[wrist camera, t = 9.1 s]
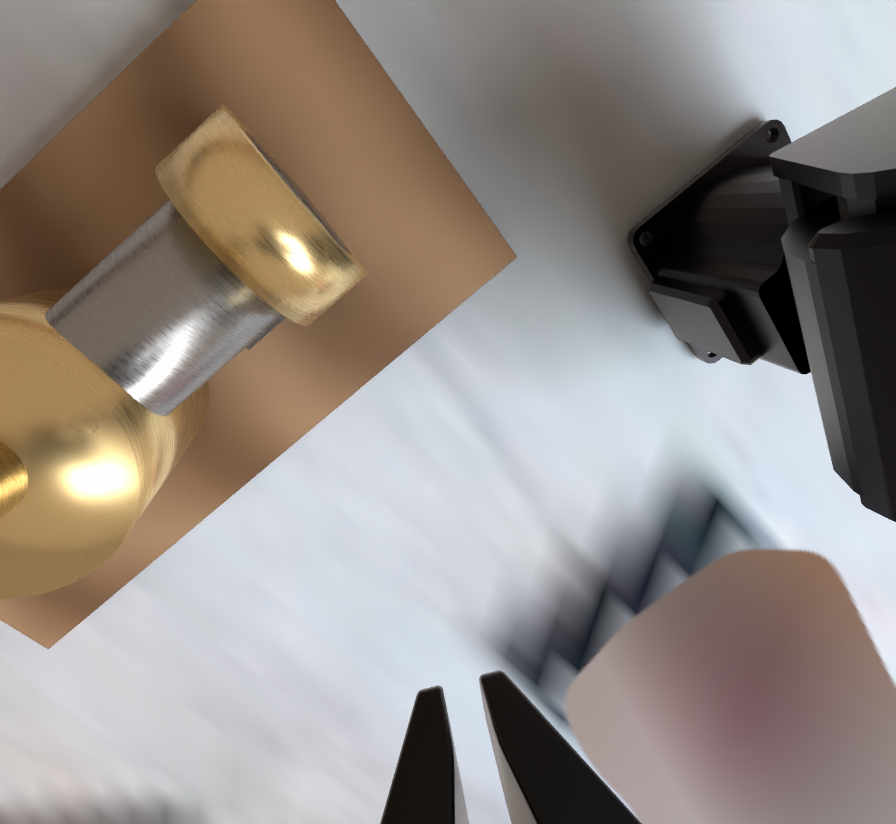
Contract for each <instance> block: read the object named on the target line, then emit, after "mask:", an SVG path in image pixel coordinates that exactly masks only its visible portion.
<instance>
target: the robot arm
mask: <svg viewBox="0 0 896 824" xmlns="http://www.w3.org/2000/svg"><path fill="white" fill-rule="evenodd" d="M768 130H769V131H770V132H771V138H770V141H769V142H767V141H766V133H767V131H768ZM643 232H645V233H646V234H647V240H646V242H645V243H644V244H643V245H641V244H640V241H639V238H640V235H641V234H642V233H643ZM628 244H629V247H630V249H631V250H632V252H633V253H634V255H635V257H636V258H637V260H638V262H639V263H640V265H641V267H642V268H643V270H644V271H645V273H646V275H647V276H648V278H649V280H650V281H651V282H650V283H649V293H650V295H651V297H652V298H653V300H654V301H655V303H656V305H657V306H658V308H659V309H660V311H661V313H662V314H663V316H664V318H665V319H666V321H667V322H668V324H669V326H670V327H671V329H672V330H673V332H674V334H675V335H676V337H677V338H678V339H679V340H682V341H684V342H687V343H689V345H690V346H691V348H692V350H693V351H694V353H695V355H696V356H697V357H698V358H699V359H700V360H702V361H704V362H706V363H715V362H717V361H718V360H720V359H721V358H722V357H724V358H727V359H729V360H732V361H734V362H737V363H739V364H747V365H751V364H753V363H754V362H755V361H757V360H758V359H762V360H765V361H768V362H770V363H773V364H776V365H778V366H781V367H784V368H787V369H789V370H792V371H795V372H798V373H800V374H808V373H810V372H811V374H812V378H813V382H814V387H815V391H816V396H817V400H818V404H819V409H820V413H821V418H822V422H823V427H824V431H825V435H826V440H827V444H828V449H829V453H830V457H831V461H832V465H833V469H834V471H835V472H836V473H837V474H838V475H839V476H840V477H841V478H842V479H843V480H844V481H845V482H846V483H847V484H848V486H849V487H850V488H851V489H852V490H853V491H854V492H856V493H857V494H859V495H860V499H861V503H862V504H863V505H864V506H865V507H866V508H868V509H870V510H872V511H874V512H876V513H878V514H880V515H882V516H884V517H886V518H888V519H890V520H892V521H895V522H896V87H895V88H893V89H892V90H890V91H888V92H886V93H884V94H882V95H880V96H878V97H877V98H875V99H873V100H871V101H869V102H867V103H865V104H863V105H862V106H860V107H858V108H856V109H854V110H852V111H850V112H848V113H847V114H845V115H843V116H841V117H839V118H837V119H835V120H833V121H832V122H830V123H828V124H826V125H824V126H822V127H820V128H818V129H816V130H815V131H813V132H811V133H809V134H807V135H805V136H803V137H801V138H800V139H798V140H796V141H794V142H791V140H790V138H789V136H788V133H787V131H786V129H785V126H784V125H783V123H782V122H781V121H779V120H769V121H765V122H762V123H760V124H759V125H757V126H756V127H755V128H754V129H753V130H751V131H750V132H749V133H748V134H747V135H745V136H744V137H743V138H742V139H740V140H739V141H738V142H737V143H736V144H734V145H733V146H732V147H731V148H729V149H728V150H727V151H726V152H725V153H723V154H722V155H721V156H720V157H719V158H717V159H716V160H715V161H714V162H712V163H711V164H710V165H709V166H708V167H706V168H705V169H704V170H703V171H701V172H700V173H699V174H698V175H697V176H695V177H694V178H693V179H692V180H691V181H689V182H688V183H687V184H686V185H684V186H683V187H682V188H681V189H680V190H678V191H677V192H676V193H675V194H673V195H672V196H671V197H670V198H669V199H667V200H666V201H665V202H664V203H663V204H661V205H660V206H659V207H658V208H656V209H655V210H654V211H653V212H652V213H650V214H649V215H648V216H647V217H646V218H644V219H643V220H642V221H641V222H639V223H638V224H637V225H636V226H635V227H633V229H632V230H631V231H630V233H629V236H628ZM707 351H709V352H711V353H710V354H708V355H707ZM479 682H480V688H481V694H482V700H483V706H484V711H485V716H486V721H487V725H488V729H489V734H490V738H491V742H492V746H493V750H494V754H495V759H496V763H497V767H498V771H499V775H500V779H501V783H502V788H503V792H504V796H505V800H506V804H507V808H508V812H509V815H510V819H511V822H512V824H642V823H641V822H640V821H639V820H638V819H637V818H636V817H635V816H634V815H633V814H632V812H631V811H630V810H629V809H628V808H627V807H626V806H625V805H624V804H623V803H622V801H621V800H620V799H619V798H618V797H617V796H616V795H615V794H614V793H613V792H612V791H611V789H610V788H609V787H608V786H607V785H606V784H605V783H604V782H603V781H602V780H601V778H600V777H599V776H598V775H597V774H596V773H595V772H594V771H593V770H592V769H591V767H590V766H589V765H588V764H587V763H586V762H585V761H584V760H583V759H582V758H581V756H580V755H579V754H578V753H577V752H576V751H575V750H574V749H573V748H572V747H571V745H570V744H569V743H568V742H567V741H566V740H565V739H564V738H563V737H562V736H561V734H560V733H559V732H558V731H557V730H556V729H555V728H554V727H553V726H552V725H551V723H550V722H549V721H548V720H547V719H546V718H545V717H544V716H543V715H542V714H541V712H540V711H539V710H538V709H537V708H536V707H535V706H534V705H533V704H532V703H531V701H530V700H529V699H528V698H527V697H526V696H525V695H524V694H523V693H522V692H521V690H520V689H519V688H518V687H517V686H516V685H515V684H514V683H513V682H512V681H511V679H510V678H509V677H508V676H507V675H506V674H505V673H504V672H502V671H495V672H491V673H487V674H483V675H481V676H480V678H479ZM380 824H469V821H468V815H467V810H466V805H465V799H464V794H463V789H462V784H461V779H460V773H459V768H458V763H457V758H456V753H455V747H454V742H453V737H452V732H451V727H450V722H449V717H448V712H447V707H446V702H445V698H444V693H443V689H442V687H441V686H435V687H431V688H427V689H423V690H420V691H419V692H418V694H417V696H416V700H415V703H414V707H413V710H412V714H411V717H410V721H409V724H408V728H407V731H406V735H405V739H404V742H403V746H402V749H401V753H400V756H399V760H398V763H397V767H396V770H395V774H394V777H393V781H392V784H391V788H390V791H389V795H388V799H387V802H386V806H385V809H384V813H383V816H382V820H381V823H380Z"/></svg>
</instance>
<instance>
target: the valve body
mask: <svg viewBox="0 0 896 824" xmlns="http://www.w3.org/2000/svg"><path fill="white" fill-rule="evenodd" d="M155 173H156V176H157V179H158V181H159V183H160V185H161V187H162V189H163V190H164V192H165V193H166V195H167V196H168V198H169V199H168V200H167V201H166V202H164V203H163V204H162V205H161V206H160V207H159V208H158V209H157V210H156V211H155V212H154V213H153V214H151V215H150V216H149V217H148V218H147V219H146V220H145V221H144V222H143V223H142V224H141V225H140V226H139V227H137V228H136V229H135V230H134V231H133V232H132V233H131V234H130V235H129V236H128V237H127V238H126V239H124V240H123V241H122V242H121V243H120V244H119V245H118V246H117V247H116V248H115V249H114V250H113V251H111V252H110V253H109V254H108V255H107V256H106V257H105V258H104V259H103V260H102V261H101V262H100V263H99V264H97V265H96V266H95V267H94V268H93V269H92V270H91V271H90V272H89V273H88V274H87V275H86V276H84V277H83V278H82V279H81V280H80V281H79V282H78V283H77V284H70V285H62V286H58V287H54V288H49V289H46V290H42V291H38V292H34V293H30V294H26V295H22V296H18V297H14V298H11V299H7V300H3V301H0V599H12V598H22V597H29V596H35V595H40V594H43V593H47V592H51V591H54V590H57V589H60V588H62V587H65V586H67V585H70V584H72V583H74V582H76V581H78V580H80V579H82V578H83V577H85V576H87V575H89V574H90V573H92V572H93V571H94V570H96V569H97V568H98V567H100V566H101V565H102V564H103V563H104V562H105V561H106V560H107V559H108V558H109V557H110V556H111V555H112V554H114V552H115V551H116V550H117V548H118V547H119V546H120V544H121V543H122V542H123V540H124V539H125V537H126V536H127V535H128V533H129V532H130V530H131V529H132V527H133V526H134V524H135V523H136V522H137V520H138V519H139V517H140V516H141V514H142V513H143V512H144V510H145V509H146V507H147V506H148V504H149V503H150V502H151V500H152V499H153V497H154V496H155V494H156V493H157V492H158V490H159V489H160V487H161V486H162V484H163V483H164V482H165V480H166V479H167V477H168V476H169V474H170V473H171V472H172V470H173V469H174V467H175V466H176V464H177V463H178V461H179V460H180V459H181V457H182V456H183V454H184V453H185V451H186V450H187V449H188V447H189V446H190V444H191V443H192V441H193V440H194V439H195V437H196V436H197V434H198V432H199V431H200V429H201V427H202V425H203V423H204V420H205V417H206V414H207V409H208V404H209V382H208V380H209V379H210V378H211V377H213V376H214V375H215V374H216V373H217V372H218V371H220V370H221V369H222V368H223V367H224V366H225V365H226V364H228V363H229V362H230V361H231V360H232V359H233V358H234V357H236V356H237V355H238V354H239V353H240V352H241V351H243V350H244V349H245V348H247V349H248V350H249V349H251V348H252V347H253V346H254V345H255V344H256V343H257V342H259V341H260V340H261V339H262V338H263V337H264V336H266V335H267V334H268V333H269V332H270V331H271V330H272V329H274V328H275V327H276V326H277V325H278V324H279V323H280V322H282V321H283V320H284V319H285V318H288V319H290V320H291V321H293V322H295V323H297V324H299V325H302V326H308V325H310V324H311V323H312V322H313V321H314V320H315V319H317V318H318V317H319V316H320V315H321V314H322V313H324V312H325V311H326V310H327V309H328V308H329V307H331V306H332V305H333V304H334V303H335V302H336V301H337V300H339V299H340V298H341V297H342V296H343V295H344V294H346V293H347V292H348V291H349V290H350V289H351V288H353V287H354V286H355V285H356V284H357V283H358V282H359V281H361V280H362V279H363V278H364V277H365V276H366V275H367V271H366V270H365V268H364V267H363V265H362V264H361V262H360V261H359V260H358V258H357V257H356V255H355V254H354V253H353V252H352V250H351V249H350V248H349V246H348V245H347V244H346V242H345V241H344V240H343V239H342V237H341V236H340V235H339V234H338V232H337V231H336V230H335V229H334V227H333V226H332V225H331V224H330V223H329V221H328V220H327V219H326V218H325V216H324V215H323V214H322V213H321V212H320V210H319V209H318V208H317V207H316V206H315V204H314V203H313V202H312V201H311V200H310V198H309V197H308V196H307V195H306V194H305V192H304V191H303V190H302V189H301V188H300V187H299V185H298V184H297V183H296V182H295V181H294V180H293V178H292V177H291V176H290V175H289V174H288V173H287V171H286V170H285V169H284V168H283V167H282V166H281V165H280V163H279V162H278V161H277V160H276V159H275V158H274V157H273V155H272V154H271V153H270V152H269V151H268V150H267V149H266V148H265V146H264V145H263V144H262V143H261V142H260V141H259V140H258V139H257V138H256V137H255V135H254V134H253V133H252V132H251V131H250V130H249V129H248V128H247V127H246V126H245V125H244V124H243V123H242V122H241V121H240V119H239V118H238V117H237V116H236V115H235V114H234V113H233V112H232V111H230V110H229V109H228V108H227V107H226V106H225V105H223V104H222V105H221V106H220V107H219V108H218V109H217V110H216V111H215V112H214V113H213V114H212V115H210V116H209V117H208V118H207V119H206V120H205V121H204V122H203V123H202V124H201V125H200V126H199V127H198V128H197V129H196V130H194V131H193V132H192V133H191V134H190V135H189V136H188V137H187V138H186V139H185V140H184V141H183V142H182V143H181V144H179V145H178V146H177V147H176V148H175V149H174V150H173V151H172V152H171V153H170V154H169V155H168V156H167V157H166V158H165V159H163V160H162V161H161V162H160V163H159V164H158V165H157V166H156V168H155Z"/></svg>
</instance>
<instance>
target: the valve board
mask: <svg viewBox="0 0 896 824" xmlns="http://www.w3.org/2000/svg"><path fill="white" fill-rule="evenodd" d="M222 104H223V105H225V106H226V107H227V108H228V109H229V110H230V111H232V112H233V113H234V114H235V115H236V116H237V117H238V118H239V119H240V121H241V122H242V123H243V124H244V125H245V126H246V127H247V128H248V129H249V130H250V131H251V132H252V133H253V134H254V135H255V137H256V138H257V139H258V140H259V141H260V142H261V143H262V144H263V145H264V146H265V148H266V149H267V150H268V151H269V152H270V153H271V154H272V155H273V157H274V158H275V159H276V160H277V161H278V162H279V163H280V165H281V166H282V167H283V168H284V169H285V170H286V171H287V173H288V174H289V175H290V176H291V177H292V178H293V180H294V181H295V182H296V183H297V184H298V185H299V187H300V188H301V189H302V190H303V191H304V192H305V194H306V195H307V196H308V197H309V198H310V200H311V201H312V202H313V203H314V204H315V206H316V207H317V208H318V209H319V210H320V212H321V213H322V214H323V215H324V216H325V218H326V219H327V220H328V221H329V223H330V224H331V225H332V226H333V227H334V229H335V230H336V231H337V232H338V234H339V235H340V236H341V237H342V239H343V240H344V241H345V242H346V244H347V245H348V246H349V248H350V249H351V250H352V252H353V253H354V254H355V255H356V257H357V258H358V260H359V261H360V262H361V264H362V265H363V267H364V268H365V270H366V271H367V275H366V276H365V277H364V278H363V279H362V280H361V281H359V282H358V283H357V284H356V285H355V286H354V287H353V288H351V289H350V290H349V291H348V292H347V293H346V294H344V295H343V296H342V297H341V298H340V299H339V300H337V301H336V302H335V303H334V304H333V305H332V306H331V307H329V308H328V309H327V310H326V311H325V312H324V313H322V314H321V315H320V316H319V317H318V318H317V319H315V320H314V321H313V322H312V323H311V324H310V325H308V326H302V325H299V324H297V323H295V322H293V321H291V320H290V319H288V318H285V319H284V320H283V321H282V322H280V323H279V324H278V325H277V326H276V327H275V328H274V329H272V330H271V331H270V332H269V333H268V334H267V335H266V336H264V337H263V338H262V339H261V340H260V341H259V342H257V343H256V344H255V345H254V346H253V347H252V348H251V349H249V350H248V349H247V348H245V349H244V350H243V351H241V352H240V353H239V354H238V355H237V356H236V357H234V358H233V359H232V360H231V361H230V362H229V363H228V364H226V365H225V366H224V367H223V368H222V369H221V370H220V371H218V372H217V373H216V374H215V375H214V376H213V377H211V378H210V379H209V380H208V382H209V404H208V409H207V414H206V417H205V420H204V423H203V425H202V427H201V429H200V431H199V432H198V434H197V436H196V437H195V439H194V440H193V441H192V443H191V444H190V446H189V447H188V449H187V450H186V451H185V453H184V454H183V456H182V457H181V459H180V460H179V461H178V463H177V464H176V466H175V467H174V469H173V470H172V472H171V473H170V474H169V476H168V477H167V479H166V480H165V482H164V483H163V484H162V486H161V487H160V489H159V490H158V492H157V493H156V494H155V496H154V497H153V499H152V500H151V502H150V503H149V504H148V506H147V507H146V509H145V510H144V512H143V513H142V514H141V516H140V517H139V519H138V520H137V522H136V523H135V524H134V526H133V527H132V529H131V530H130V532H129V533H128V535H127V536H126V537H125V539H124V540H123V542H122V543H121V544H120V546H119V547H118V548H117V550H116V551H115V552H114V554H112V555H111V556H110V557H109V558H108V559H107V560H106V561H105V562H104V563H103V564H102V565H101V566H100V567H98V568H97V569H96V570H94V571H93V572H92V573H90V574H89V575H87V576H85V577H83V578H82V579H80V580H78V581H76V582H74V583H72V584H70V585H67V586H65V587H62V588H60V589H57V590H54V591H51V592H47V593H43V594H40V595H35V596H29V597H22V598H12V599H0V620H1V621H3V622H5V623H6V624H8V625H9V626H11V627H13V628H14V629H16V630H18V631H19V632H21V633H22V634H24V635H26V636H27V637H29V638H31V639H32V640H34V641H35V642H37V643H39V644H40V645H42V646H44V647H45V648H47V649H49V648H51V647H52V646H53V645H54V644H55V643H56V642H58V641H59V640H60V639H61V638H62V637H64V636H65V635H66V634H67V633H68V632H70V631H71V630H72V629H73V628H74V627H76V626H77V625H78V624H79V623H80V622H82V621H83V620H84V619H85V618H86V617H88V616H89V615H90V614H91V613H92V612H94V611H95V610H96V609H97V608H98V607H99V606H101V605H102V604H103V603H104V602H105V601H107V600H108V599H109V598H110V597H111V596H113V595H114V594H115V593H116V592H117V591H119V590H120V589H121V588H122V587H123V586H125V585H126V584H127V583H128V582H129V581H131V580H132V579H133V578H134V577H135V576H137V575H138V574H139V573H140V572H141V571H142V570H144V569H145V568H146V567H147V566H148V565H150V564H151V563H152V562H153V561H154V560H156V559H157V558H158V557H159V556H160V555H162V554H163V553H164V552H165V551H166V550H168V549H169V548H170V547H171V546H172V545H174V544H175V543H176V542H177V541H178V540H180V539H181V538H182V537H183V536H184V535H186V534H187V533H188V532H189V531H190V530H191V529H193V528H194V527H195V526H196V525H197V524H199V523H200V522H201V521H202V520H203V519H205V518H206V517H207V516H208V515H209V514H211V513H212V512H213V511H214V510H215V509H217V508H218V507H219V506H220V505H221V504H223V503H224V502H225V501H226V500H227V499H229V498H230V497H231V496H232V495H233V494H234V493H236V492H237V491H238V490H239V489H240V488H242V487H243V486H244V485H245V484H246V483H248V482H249V481H250V480H251V479H252V478H254V477H255V476H256V475H257V474H258V473H260V472H261V471H262V470H263V469H264V468H266V467H267V466H268V465H269V464H270V463H272V462H273V461H274V460H275V459H276V458H277V457H279V456H280V455H281V454H282V453H283V452H285V451H286V450H287V449H288V448H289V447H291V446H292V445H293V444H294V443H295V442H297V441H298V440H299V439H300V438H301V437H303V436H304V435H305V434H306V433H307V432H309V431H310V430H311V429H312V428H313V427H315V426H316V425H317V424H318V423H319V422H321V421H322V420H323V419H324V418H325V417H326V416H328V415H329V414H330V413H331V412H332V411H334V410H335V409H336V408H337V407H338V406H340V405H341V404H342V403H343V402H344V401H346V400H347V399H348V398H349V397H350V396H352V395H353V394H354V393H355V392H356V391H358V390H359V389H360V388H361V387H362V386H364V385H365V384H366V383H367V382H368V381H369V380H371V379H372V378H373V377H374V376H375V375H377V374H378V373H379V372H380V371H381V370H383V369H384V368H385V367H386V366H387V365H389V364H390V363H391V362H392V361H393V360H395V359H396V358H397V357H398V356H399V355H401V354H402V353H403V352H404V351H405V350H407V349H408V348H409V347H410V346H411V345H412V344H414V343H415V342H416V341H417V340H418V339H420V338H421V337H422V336H423V335H424V334H426V333H427V332H428V331H429V330H430V329H432V328H433V327H434V326H435V325H436V324H438V323H439V322H440V321H441V320H442V319H444V318H445V317H446V316H447V315H448V314H450V313H451V312H452V311H453V310H454V309H456V308H457V307H458V306H459V305H460V304H461V303H463V302H464V301H465V300H466V299H467V298H469V297H470V296H471V295H472V294H473V293H475V292H476V291H477V290H478V289H479V288H481V287H482V286H483V285H484V284H485V283H487V282H488V281H489V280H490V279H491V278H493V277H494V276H495V275H496V274H497V273H499V272H500V271H501V270H502V269H503V268H504V267H506V266H507V265H508V264H509V263H510V262H512V261H513V260H514V259H515V258H516V257H517V256H516V255H515V253H514V252H513V250H512V249H511V248H510V246H509V245H508V243H507V242H506V240H505V239H504V238H503V236H502V235H501V233H500V232H499V231H498V229H497V228H496V226H495V225H494V224H493V222H492V221H491V219H490V218H489V217H488V215H487V214H486V212H485V211H484V210H483V208H482V207H481V205H480V204H479V202H478V201H477V200H476V198H475V197H474V195H473V194H472V193H471V191H470V190H469V188H468V187H467V186H466V184H465V183H464V181H463V180H462V179H461V177H460V176H459V174H458V173H457V172H456V170H455V169H454V167H453V166H452V165H451V163H450V162H449V160H448V159H447V157H446V156H445V155H444V153H443V152H442V150H441V149H440V148H439V146H438V145H437V143H436V142H435V141H434V139H433V138H432V136H431V135H430V134H429V132H428V131H427V129H426V128H425V127H424V125H423V124H422V122H421V121H420V119H419V118H418V117H417V115H416V114H415V112H414V111H413V110H412V108H411V107H410V105H409V104H408V103H407V101H406V100H405V98H404V97H403V96H402V94H401V93H400V91H399V90H398V89H397V87H396V86H395V84H394V83H393V82H392V80H391V79H390V77H389V76H388V74H387V73H386V72H385V70H384V69H383V67H382V66H381V65H380V63H379V62H378V60H377V59H376V58H375V56H374V55H373V53H372V52H371V51H370V49H369V48H368V46H367V45H366V44H365V42H364V41H363V39H362V38H361V36H360V35H359V34H358V32H357V31H356V29H355V28H354V27H353V25H352V24H351V22H350V21H349V20H348V18H347V17H346V15H345V14H344V13H343V11H342V10H341V8H340V7H339V6H338V4H337V3H336V1H335V0H196V1H195V2H194V3H193V4H192V5H191V6H190V7H189V8H188V9H187V10H186V11H185V12H184V13H183V14H182V15H181V16H180V17H179V18H178V19H176V20H175V21H174V22H173V23H172V24H171V25H170V26H169V27H168V28H167V29H166V30H165V31H164V32H163V33H162V34H161V35H160V36H159V37H158V38H157V39H156V40H155V41H154V42H153V43H152V44H151V45H150V46H149V47H148V48H147V49H145V50H144V51H143V52H142V53H141V54H140V55H139V56H138V57H137V58H136V59H135V60H134V61H133V62H132V63H131V64H130V65H129V66H128V67H127V68H126V69H125V70H124V71H123V72H122V73H121V74H120V75H119V76H118V77H117V78H116V79H115V80H113V81H112V82H111V83H110V84H109V85H108V86H107V87H106V88H105V89H104V90H103V91H102V92H101V93H100V94H99V95H98V96H97V97H96V98H95V99H94V100H93V101H92V102H91V103H90V104H89V105H88V106H87V107H86V108H85V109H84V110H82V111H81V112H80V113H79V114H78V115H77V116H76V117H75V118H74V119H73V120H72V121H71V122H70V123H69V124H68V125H67V126H66V127H65V128H64V129H63V130H62V131H61V132H60V133H59V134H58V135H57V136H56V137H55V138H54V139H53V140H51V141H50V142H49V143H48V144H47V145H46V146H45V147H44V148H43V149H42V150H41V151H40V152H39V153H38V154H37V155H36V156H35V157H34V158H33V159H32V160H31V161H30V162H29V163H28V164H27V165H26V166H25V167H24V168H23V169H22V170H20V171H19V172H18V173H17V174H16V175H15V176H14V177H13V178H12V179H11V180H10V181H9V182H8V183H7V184H6V185H5V186H4V187H3V188H2V189H1V190H0V301H3V300H7V299H11V298H14V297H18V296H22V295H26V294H30V293H34V292H38V291H42V290H46V289H49V288H54V287H58V286H62V285H70V284H77V283H78V282H79V281H80V280H81V279H82V278H83V277H84V276H86V275H87V274H88V273H89V272H90V271H91V270H92V269H93V268H94V267H95V266H96V265H97V264H99V263H100V262H101V261H102V260H103V259H104V258H105V257H106V256H107V255H108V254H109V253H110V252H111V251H113V250H114V249H115V248H116V247H117V246H118V245H119V244H120V243H121V242H122V241H123V240H124V239H126V238H127V237H128V236H129V235H130V234H131V233H132V232H133V231H134V230H135V229H136V228H137V227H139V226H140V225H141V224H142V223H143V222H144V221H145V220H146V219H147V218H148V217H149V216H150V215H151V214H153V213H154V212H155V211H156V210H157V209H158V208H159V207H160V206H161V205H162V204H163V203H164V202H166V201H167V200H168V199H169V198H168V196H167V195H166V193H165V192H164V190H163V189H162V187H161V185H160V183H159V181H158V179H157V176H156V173H155V168H156V166H157V165H158V164H159V163H160V162H161V161H162V160H163V159H165V158H166V157H167V156H168V155H169V154H170V153H171V152H172V151H173V150H174V149H175V148H176V147H177V146H178V145H179V144H181V143H182V142H183V141H184V140H185V139H186V138H187V137H188V136H189V135H190V134H191V133H192V132H193V131H194V130H196V129H197V128H198V127H199V126H200V125H201V124H202V123H203V122H204V121H205V120H206V119H207V118H208V117H209V116H210V115H212V114H213V113H214V112H215V111H216V110H217V109H218V108H219V107H220V106H221V105H222Z"/></svg>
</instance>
